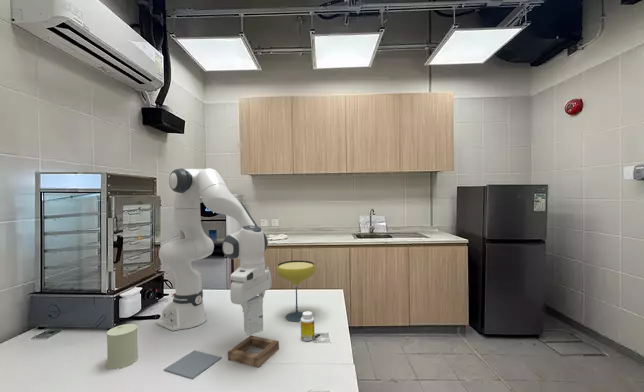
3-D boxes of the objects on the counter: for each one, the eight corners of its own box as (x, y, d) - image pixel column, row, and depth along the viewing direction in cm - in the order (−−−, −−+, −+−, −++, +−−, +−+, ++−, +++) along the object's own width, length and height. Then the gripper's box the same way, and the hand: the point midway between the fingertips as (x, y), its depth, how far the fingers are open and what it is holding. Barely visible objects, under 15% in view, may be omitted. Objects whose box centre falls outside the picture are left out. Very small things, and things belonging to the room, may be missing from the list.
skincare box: (247, 336, 105) (246, 302, 104) (243, 331, 108) (242, 298, 108) (264, 330, 108) (263, 298, 108) (259, 326, 112) (258, 294, 111)
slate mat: (163, 370, 99) (163, 369, 99) (194, 351, 111) (194, 350, 111) (192, 379, 94) (192, 378, 94) (221, 358, 106) (221, 357, 106)
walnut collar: (228, 360, 105) (227, 351, 105) (250, 342, 117) (250, 335, 117) (258, 367, 100) (258, 358, 100) (278, 349, 111) (278, 341, 111)
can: (132, 351, 111) (132, 320, 111) (142, 360, 105) (141, 326, 105) (103, 363, 104) (102, 329, 104) (111, 372, 98) (111, 336, 98)
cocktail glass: (291, 329, 128) (290, 271, 128) (270, 316, 142) (269, 264, 142) (323, 317, 139) (322, 264, 139) (301, 306, 153) (300, 258, 153)
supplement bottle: (314, 341, 117) (314, 315, 117) (300, 342, 117) (300, 316, 117) (314, 334, 122) (314, 310, 122) (300, 335, 122) (300, 310, 122)
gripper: (261, 263, 119) (262, 297, 119) (226, 276, 100) (227, 317, 100) (275, 264, 116) (275, 299, 116) (242, 278, 97) (242, 320, 98)
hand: (253, 307), depth 108 cm, fingers closed on skincare box, 7 cm apart
